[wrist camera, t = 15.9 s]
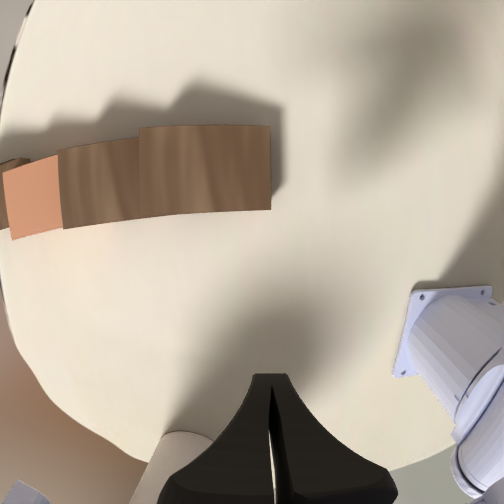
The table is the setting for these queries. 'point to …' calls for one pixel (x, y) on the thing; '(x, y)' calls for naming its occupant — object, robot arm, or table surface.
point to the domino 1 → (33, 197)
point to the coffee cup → (168, 463)
